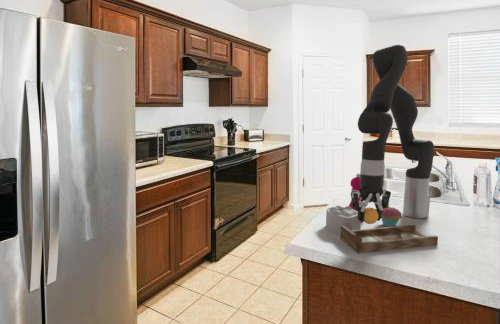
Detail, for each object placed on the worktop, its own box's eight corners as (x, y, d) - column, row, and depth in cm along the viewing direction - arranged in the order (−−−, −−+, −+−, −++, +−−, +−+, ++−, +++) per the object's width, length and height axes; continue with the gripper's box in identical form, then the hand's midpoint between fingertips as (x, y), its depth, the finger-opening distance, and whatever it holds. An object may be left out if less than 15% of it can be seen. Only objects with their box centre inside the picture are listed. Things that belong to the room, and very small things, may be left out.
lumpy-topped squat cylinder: (347, 237, 120) (348, 214, 119) (319, 227, 130) (320, 206, 129) (363, 231, 126) (364, 209, 125) (336, 222, 136) (336, 201, 135)
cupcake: (390, 230, 127) (392, 200, 125) (373, 223, 134) (374, 194, 132) (405, 226, 131) (407, 197, 129) (387, 220, 138) (389, 192, 136)
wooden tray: (413, 232, 125) (414, 219, 124) (437, 244, 113) (438, 230, 112) (340, 239, 119) (340, 225, 118) (358, 253, 107) (358, 238, 106)
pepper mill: (366, 223, 134) (369, 175, 131) (348, 222, 136) (350, 175, 132) (364, 218, 141) (366, 172, 138) (346, 217, 143) (348, 171, 139)
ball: (371, 220, 116) (372, 205, 116) (381, 225, 111) (382, 209, 110) (357, 221, 115) (358, 205, 114) (366, 226, 110) (367, 210, 109)
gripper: (384, 169, 115) (381, 216, 118) (346, 171, 113) (344, 218, 115) (398, 173, 108) (394, 223, 111) (358, 175, 105) (355, 226, 108)
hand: (369, 220), depth 113 cm, fingers closed on ball, 5 cm apart
